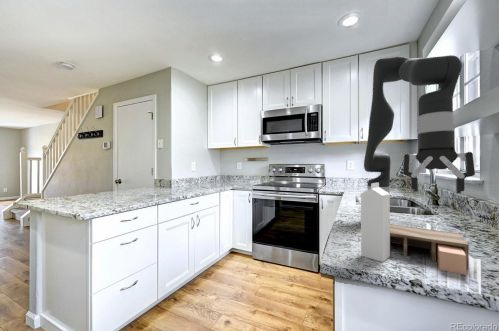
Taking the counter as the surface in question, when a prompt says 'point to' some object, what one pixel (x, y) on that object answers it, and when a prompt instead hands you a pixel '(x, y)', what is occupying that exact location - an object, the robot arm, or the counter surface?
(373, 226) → the milk
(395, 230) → the wooden bench
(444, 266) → the block
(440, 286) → the counter surface
